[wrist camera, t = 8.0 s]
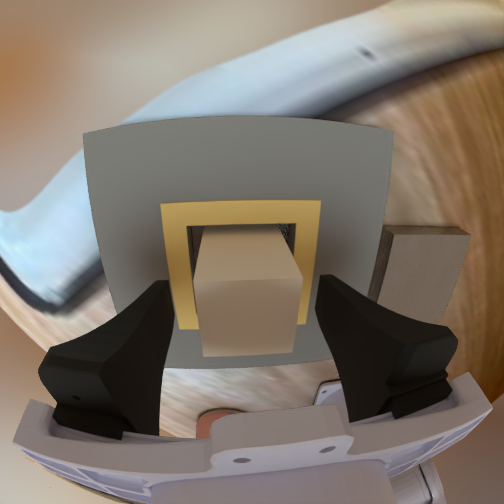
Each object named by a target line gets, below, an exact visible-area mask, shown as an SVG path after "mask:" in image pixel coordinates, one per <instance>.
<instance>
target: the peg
mask: <svg viewBox="0 0 504 504" xmlns="http://www.w3.org/2000/svg"><path fill="white" fill-rule="evenodd" d="M302 283H303V277H302V274H301V272H300V270H299V268H298V266H297V264H296V262H295V260H294V258H293V256H292V253H291V251H290V249H289V247H288V245H287V243H286V241H285V239H284V237H283V235H282V233H281V231H280V229H279V227H278V225H277V223H275V224H229V225H205V226H204V230H203V235H202V240H201V245H200V249H199V254H198V259H197V264H196V269H195V275H194V280H193V284H194V292H195V301H196V309H197V316H198V324H199V331H200V338H201V344H202V351H203V357H221V356H249V355H267V354H280V353H292V351H293V345H294V339H295V333H296V326H297V319H298V312H299V305H300V298H301V290H302Z"/></svg>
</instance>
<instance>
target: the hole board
mask: <svg viewBox="0 0 504 504" xmlns="http://www.w3.org/2000/svg"><path fill="white" fill-rule="evenodd" d="M393 135H394V131H391V130H386V129H381V128H375V127H369V126H363V125H357V124H350V123H343V122H335V121H327V120H317V119H306V118H292V117H273V116H215V117H195V118H182V119H170V120H161V121H152V122H145V123H137V124H131V125H125V126H119V127H113V128H108V129H103V130H97V131H93V132H88V133H84V134H83V144H84V157H85V168H86V177H87V185H88V192H89V199H90V205H91V211H92V217H93V223H94V228H95V233H96V238H97V242H98V247H99V251H100V255H101V260H102V264H103V268H104V271H105V275H106V279H107V282H108V286H109V289H110V293H111V296H112V300H113V303H114V306H115V309H116V312H117V315H118V314H119V313H120V312H122V311H123V310H124V309H125V308H126V307H127V306H129V305H130V304H131V303H132V302H133V301H135V300H136V299H137V298H138V297H139V296H140V295H141V294H142V293H143V292H144V291H145V290H146V289H147V288H148V287H150V286H151V285H152V284H153V283H154V282H155V281H156V280H169V284H170V290H171V296H172V301H173V306H174V312H175V319H174V327H173V334H172V338H171V342H170V346H169V350H168V353H167V357H166V362H165V366H164V368H183V369H219V368H247V367H263V366H276V365H287V364H297V363H306V362H314V361H321V360H329V359H334V358H333V356H332V354H331V352H330V349H329V347H328V345H327V342H326V340H325V338H324V336H323V333H322V331H321V329H320V326H319V323H318V320H317V316H316V312H315V303H316V297H317V290H318V284H319V277H320V275H327V274H332V275H334V276H336V277H337V278H339V279H340V280H342V281H343V282H345V283H346V284H348V285H349V286H350V287H352V288H353V289H355V290H356V291H358V292H359V293H361V294H363V295H364V296H366V297H367V294H368V290H369V286H370V282H371V278H372V274H373V270H374V266H375V261H376V257H377V252H378V247H379V242H380V237H381V232H382V226H383V221H384V215H385V208H386V202H387V195H388V187H389V179H390V171H391V161H392V149H393ZM275 223H289V232H288V247H289V249H290V251H291V253H292V256H293V258H294V260H295V262H296V264H297V266H298V268H299V270H300V272H301V274H302V277H303V283H302V290H301V298H300V305H299V312H298V319H297V326H296V333H295V339H294V345H293V351H292V353H280V354H267V355H249V356H221V357H203V351H202V344H201V338H200V331H199V324H198V316H197V309H196V301H195V292H194V284H193V280H194V275H195V264H194V253H193V243H192V231H191V226H199V225H229V224H275Z"/></svg>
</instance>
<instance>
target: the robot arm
mask: <svg viewBox="0 0 504 504" xmlns="http://www.w3.org/2000/svg"><path fill="white" fill-rule="evenodd" d="M315 312H316V316H317V320H318V323H319V326H320V329H321V331H322V333H323V336H324V338H325V340H326V342H327V345H328V347H329V349H330V352H331V354H332V356H333V358H334V361H335V364H336V367H337V370H338V374H339V377H340V381H335V382H329V383H324V384H322V385H321V386H320V387H319V391H318V394H317V396H316V399H315V402H314V405H313V406H307V407H299V408H292V409H283V410H273V411H261V412H246V413H237V414H231V415H226V416H224V417H222V418H220V419H218V420H216V421H214V422H213V423H212V425H211V428H210V438H209V439H195V438H176V437H164V436H159V416H160V397H161V385H162V376H163V370H164V366H165V362H166V357H167V353H168V350H169V346H170V342H171V338H172V334H173V327H174V319H175V312H174V306H173V301H172V296H171V290H170V284H169V280H156V281H155V282H154V283H153V284H152V285H151V286H150V287H148V288H147V289H146V290H145V291H144V292H143V293H142V294H141V295H140V296H139V297H138V298H137V299H136V300H135V301H133V302H132V303H131V304H130V305H129V306H127V307H126V308H125V309H124V310H123V311H122V312H120V313H119V314H118V315H116V316H115V317H114V318H112V319H111V320H109V321H108V322H106V323H105V324H103V325H101V326H99V327H98V328H96V329H94V330H92V331H91V332H89V333H87V334H85V335H82V336H80V337H78V338H76V339H73V340H71V341H68V342H65V343H62V344H59V345H56V346H53V347H50V349H49V350H48V352H47V354H46V356H45V357H44V359H43V361H42V363H41V365H40V367H39V369H38V374H39V377H40V379H41V381H42V383H43V385H44V386H45V387H46V388H47V390H48V391H49V393H50V394H51V395H52V397H53V398H54V399H55V400H56V402H57V405H56V408H53V407H52V406H50V405H48V404H45V403H43V402H40V401H37V400H34V399H30V401H29V403H28V405H27V407H26V409H25V412H24V414H23V416H22V419H21V421H20V424H19V426H18V429H17V431H16V434H15V437H14V439H13V444H14V445H15V446H17V447H18V448H19V449H20V450H21V451H23V452H24V453H25V454H26V455H28V456H29V457H30V458H31V459H33V460H34V461H35V462H37V463H38V464H39V465H41V466H42V467H44V468H45V469H47V470H49V471H51V472H54V473H56V474H58V475H61V476H63V477H66V478H68V479H71V480H73V481H76V482H78V483H81V484H83V485H86V486H89V487H92V488H95V489H97V490H100V491H103V492H107V493H110V494H113V495H116V496H120V497H123V498H127V499H131V500H135V501H139V502H143V503H148V504H447V503H446V500H445V497H444V494H443V487H442V484H441V481H440V478H439V476H438V473H437V471H436V468H435V466H434V464H433V462H432V459H431V457H432V456H434V455H436V454H438V453H439V452H441V451H443V450H445V449H446V448H448V447H449V446H451V445H453V444H455V443H456V442H458V441H459V440H461V439H463V438H464V437H465V436H466V435H467V434H468V433H469V432H470V431H472V430H473V429H474V428H475V427H476V426H477V425H478V424H479V423H480V422H481V421H482V419H484V417H486V415H487V414H488V413H489V412H490V411H491V410H492V406H491V404H490V402H489V401H488V399H487V398H486V396H485V395H484V393H483V392H482V390H481V389H480V387H479V386H478V384H477V383H476V381H475V380H474V379H473V377H472V376H471V374H470V373H469V372H467V373H465V374H463V375H461V376H459V377H457V378H455V379H453V380H452V381H450V382H449V383H448V382H447V380H446V378H447V376H448V373H447V372H446V370H445V368H446V367H447V365H448V363H449V362H450V360H451V359H452V357H453V355H454V353H455V351H456V349H457V345H458V339H457V338H456V336H455V335H454V334H453V332H452V331H451V330H450V329H449V328H448V327H446V326H441V325H435V324H430V323H426V322H422V321H419V320H415V319H412V318H409V317H406V316H404V315H401V314H398V313H396V312H394V311H392V310H389V309H387V308H385V307H383V306H381V305H379V304H378V303H376V302H374V301H372V300H371V299H369V298H367V297H366V296H364V295H363V294H361V293H359V292H358V291H356V290H355V289H353V288H352V287H350V286H349V285H348V284H346V283H345V282H343V281H342V280H340V279H339V278H337V277H336V276H334V275H332V274H327V275H320V277H319V284H318V290H317V297H316V303H315ZM418 465H419V467H420V468H419V467H418ZM427 487H428V489H429V492H428V489H427Z"/></svg>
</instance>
